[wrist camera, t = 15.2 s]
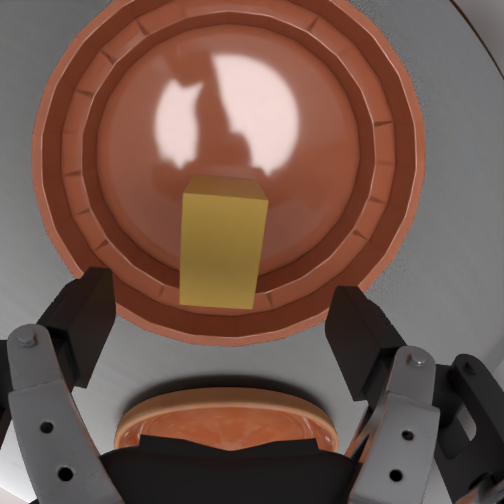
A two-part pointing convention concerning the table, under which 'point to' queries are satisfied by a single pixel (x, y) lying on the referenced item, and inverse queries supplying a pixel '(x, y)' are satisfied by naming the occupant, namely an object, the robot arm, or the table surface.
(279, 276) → the bowl
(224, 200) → the yellow block
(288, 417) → the saucer
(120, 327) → the table surface
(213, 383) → the table surface
